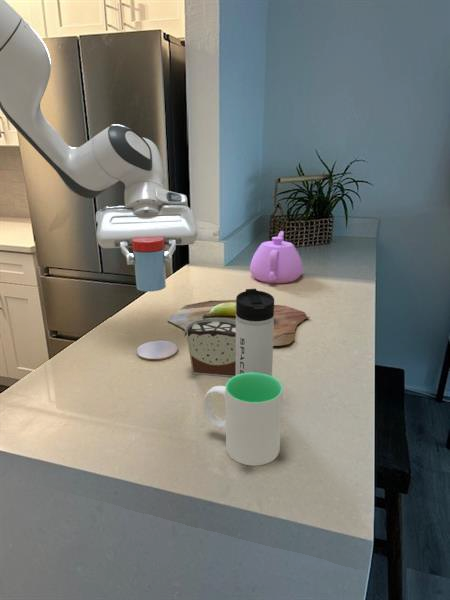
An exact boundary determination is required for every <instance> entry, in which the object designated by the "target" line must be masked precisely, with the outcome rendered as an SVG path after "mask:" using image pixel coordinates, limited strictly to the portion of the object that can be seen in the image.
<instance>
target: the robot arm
mask: <svg viewBox="0 0 450 600" xmlns="http://www.w3.org/2000/svg"><path fill="white" fill-rule="evenodd" d="M51 71H52V64H51V57H50V53H49V50H48V48H47V46H46V44H45V42H44V41H43V39H42V38H41V37H40V35H39V34H38V33H37V32H36V30H34V28H32V26H31V25H30V24H29V23H28V22H27V21H26V20H25V19H24V18H23V17H22V16H21V15H20V14H19V12H17V11H16V10H15V9H14V8H13V7H12V6H11V5H10V4H9V3H7V1H6V0H0V111H1V112H2V114H3V115H4V116H5V118H6V119H7V120H8V121H9V123H10V124H11V125H12V126H13V127H14V129H16V131H17V132H18V133H19V134H20V135H21V136H22V137H23V138H24V139H25V140H26V141H27V142H28V143H29V144H30V146H31V147H33V149H34V150H35V151H36V152H38V154H39V155H40V156H41V158H43V159H44V160H45V161H46V162H47V163H48V164H49V165H50V167H51V168H52V169H53V170H54V171H55V172H56V173H57V175H58V176H59V177H60V180H61V181H62V182H63V183H64V185H65V186H66V188H68V190H70V191H71V192H72V193H74V194H75V195H77V196H79V197H82V198H86V199H95V198H97V197H98V196H100V195H101V194H102V193H104V192H105V191H106V190H108V188H110V187H111V186H113V185H116V183H118V182H122V183H123V184H124V186H125V187H124V205H118V206H103V207H102V208H100V209H99V210H97V211H96V212H95V222H96V224H97V227H96V241H97V244H98V245H99V247H101V248H102V249H120V251H121V253H122V254H123V256H124V257H125V258H126V265H127V266H129V265H131V266H132V265H133V266H134V265H135V263H134V252H130V251H129V248H132V239H133V238H142V237H163V238H164V241H165V247H166V246H167V247H168V250H167V251H164V261H165V264H169V263H172V262H173V260H172V259H173V257H172V256H173V254H174V252H175V251H176V248H177V247H176V246H186V245H194V244H195V243H196V242H197V239H198V227H197V223H196V219H195V215H194V213H193V212H194V211H193V210H192V209H191V208H190V207H189V203H188V197H187V195H186V194H184V193H178V192H176V191H175V192H174V191H171V190H167V189H165V187H164V183H165V171H164V164H163V160H162V156H161V153H160V151H159V148H158V146H157V144H156V143H154V141H152V140H150V139H149V138H146V137H143V136H141V135H140V134H139V133H138V132H137V131H135V130H134V129H132V128H130V127H127V126H126V125H122V124H111V125H110V126H107V127H106V128H105V129H103V130H102V131H100V132H99V133H96V135H95V136H93V137H92V138H91V139H88V141H86V142H85V143H83V144H82V145H79V146H78V147H73V146H70V145H69V144H68V143H67V142H66V141H65V140H64V138H62V136H61V135H60V134H59V133H58V131H56V130H55V128H54V127H53V126H52V125H51V123H50V122H48V120H47V119H46V118H45V116H44V115H43V112H42V109H41V102H42V99H43V97H44V95H45V92H46V89H47V88H48V84H49V81H50V77H51V73H52V72H51Z"/></svg>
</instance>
